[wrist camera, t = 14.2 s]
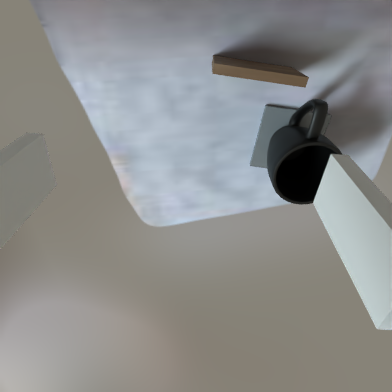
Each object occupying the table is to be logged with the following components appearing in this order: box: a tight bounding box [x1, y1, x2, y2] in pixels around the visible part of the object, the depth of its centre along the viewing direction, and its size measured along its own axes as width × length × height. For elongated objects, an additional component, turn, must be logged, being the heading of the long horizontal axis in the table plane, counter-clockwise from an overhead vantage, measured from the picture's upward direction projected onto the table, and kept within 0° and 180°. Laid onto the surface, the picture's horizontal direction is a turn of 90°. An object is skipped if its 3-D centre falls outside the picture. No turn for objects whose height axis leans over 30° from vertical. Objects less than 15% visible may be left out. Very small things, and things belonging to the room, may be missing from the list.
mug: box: [267, 99, 343, 204], centre depth 34 cm, size 8×12×10 cm
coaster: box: [250, 105, 332, 168], centre depth 40 cm, size 9×9×1 cm
